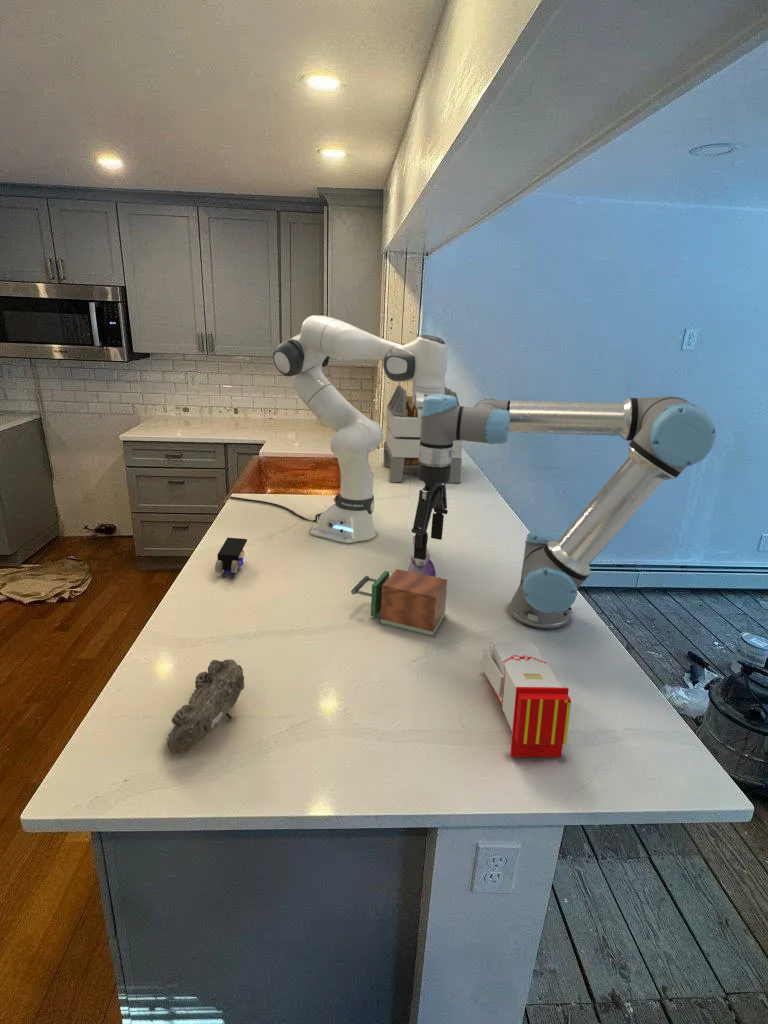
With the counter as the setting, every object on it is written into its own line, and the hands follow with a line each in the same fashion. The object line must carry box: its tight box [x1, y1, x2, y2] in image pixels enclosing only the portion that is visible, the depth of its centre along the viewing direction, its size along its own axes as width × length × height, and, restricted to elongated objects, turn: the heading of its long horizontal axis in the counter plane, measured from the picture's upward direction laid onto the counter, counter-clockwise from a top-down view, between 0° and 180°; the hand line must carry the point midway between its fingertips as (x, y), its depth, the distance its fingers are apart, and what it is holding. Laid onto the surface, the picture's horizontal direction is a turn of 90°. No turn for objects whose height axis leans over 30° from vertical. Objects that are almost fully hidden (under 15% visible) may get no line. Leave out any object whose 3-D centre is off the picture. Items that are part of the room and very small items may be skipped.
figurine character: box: [214, 537, 248, 578], centre depth 166 cm, size 7×8×15 cm
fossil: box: [166, 658, 245, 754], centre depth 106 cm, size 22×10×15 cm
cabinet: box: [380, 568, 449, 636], centre depth 143 cm, size 14×10×11 cm
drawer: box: [350, 570, 390, 618], centre depth 146 cm, size 18×9×9 cm, turn 69°
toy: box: [480, 641, 572, 758], centre depth 113 cm, size 12×13×30 cm
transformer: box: [383, 384, 464, 484], centre depth 268 cm, size 34×33×41 cm
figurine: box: [407, 535, 437, 577], centre depth 161 cm, size 9×10×15 cm
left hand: (425, 445), depth 161 cm, fingers open, 8 cm apart
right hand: (428, 548), depth 137 cm, fingers open, 13 cm apart
